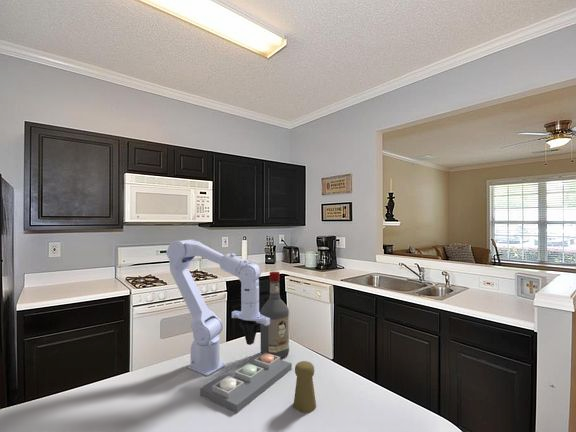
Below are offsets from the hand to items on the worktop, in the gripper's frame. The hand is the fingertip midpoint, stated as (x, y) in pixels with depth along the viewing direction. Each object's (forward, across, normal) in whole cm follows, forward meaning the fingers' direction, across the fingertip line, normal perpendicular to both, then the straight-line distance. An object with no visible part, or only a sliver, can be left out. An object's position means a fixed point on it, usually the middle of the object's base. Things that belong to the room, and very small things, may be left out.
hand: (250, 343), depth 94 cm
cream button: (+7, -3, +13) cm, 15 cm away
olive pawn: (+10, -23, +5) cm, 25 cm away
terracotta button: (+7, -3, -5) cm, 9 cm away
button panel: (+9, -3, +4) cm, 11 cm away
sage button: (+7, -3, +4) cm, 9 cm away
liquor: (+10, +1, -15) cm, 18 cm away
